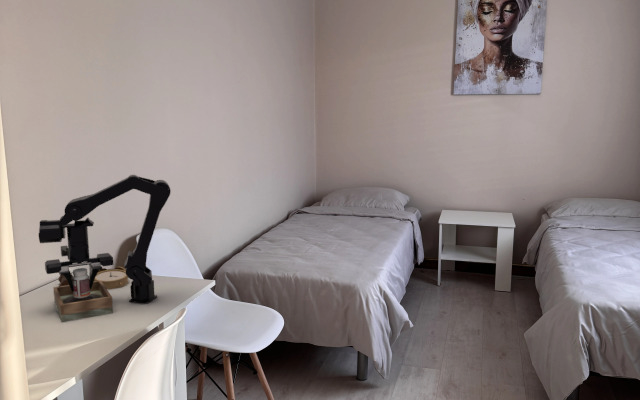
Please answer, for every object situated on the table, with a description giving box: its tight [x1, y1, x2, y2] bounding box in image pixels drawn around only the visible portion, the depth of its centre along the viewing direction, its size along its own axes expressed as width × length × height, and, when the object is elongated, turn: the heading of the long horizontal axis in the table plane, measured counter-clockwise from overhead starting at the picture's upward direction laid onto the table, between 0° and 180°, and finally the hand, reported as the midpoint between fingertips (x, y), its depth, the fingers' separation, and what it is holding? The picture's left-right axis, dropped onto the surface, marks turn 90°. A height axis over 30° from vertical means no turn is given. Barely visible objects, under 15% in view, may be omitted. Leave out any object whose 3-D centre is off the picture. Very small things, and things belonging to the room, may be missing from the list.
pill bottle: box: [72, 267, 90, 298], centre depth 164 cm, size 5×5×8 cm
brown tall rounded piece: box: [57, 273, 74, 287], centre depth 183 cm, size 6×5×15 cm
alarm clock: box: [94, 266, 129, 290], centre depth 188 cm, size 11×5×15 cm
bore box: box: [53, 280, 114, 323], centre depth 164 cm, size 14×18×5 cm
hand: (81, 289), depth 165 cm, fingers closed on pill bottle, 5 cm apart
